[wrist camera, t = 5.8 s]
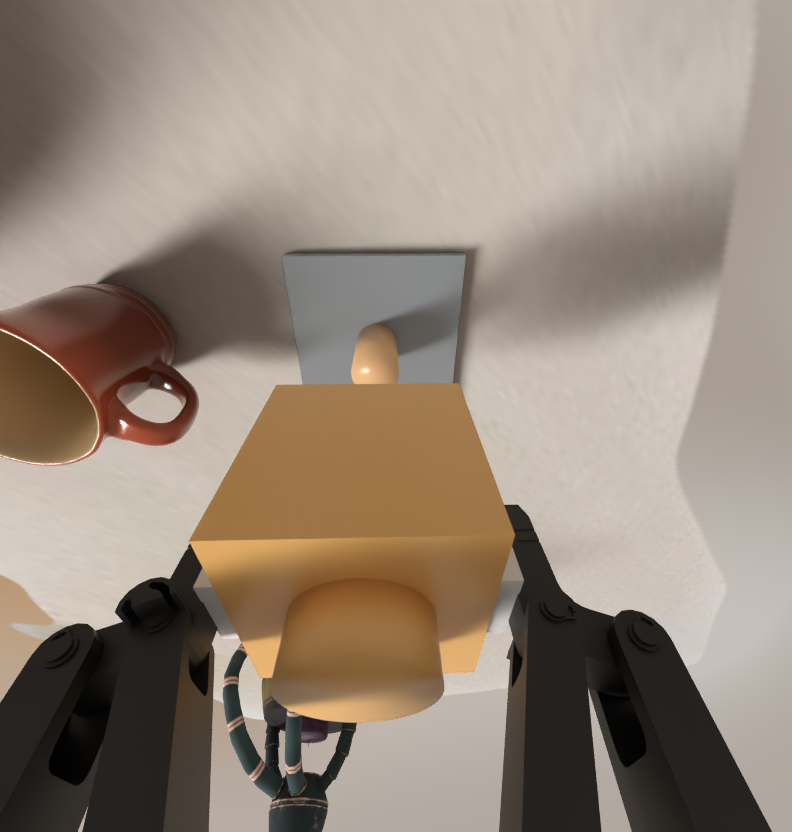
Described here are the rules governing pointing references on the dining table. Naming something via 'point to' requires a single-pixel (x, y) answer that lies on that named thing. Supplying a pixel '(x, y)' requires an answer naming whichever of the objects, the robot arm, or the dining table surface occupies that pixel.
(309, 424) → the orange cube with dome
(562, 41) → the dining table surface
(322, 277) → the plate
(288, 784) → the teapot
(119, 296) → the mug
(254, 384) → the dining table surface
